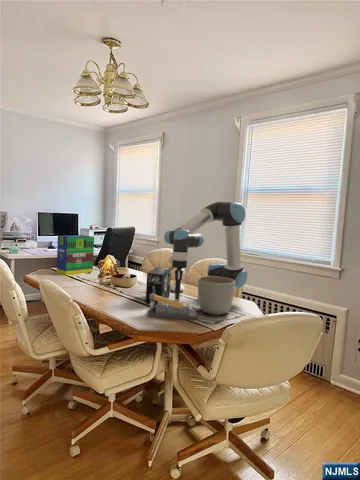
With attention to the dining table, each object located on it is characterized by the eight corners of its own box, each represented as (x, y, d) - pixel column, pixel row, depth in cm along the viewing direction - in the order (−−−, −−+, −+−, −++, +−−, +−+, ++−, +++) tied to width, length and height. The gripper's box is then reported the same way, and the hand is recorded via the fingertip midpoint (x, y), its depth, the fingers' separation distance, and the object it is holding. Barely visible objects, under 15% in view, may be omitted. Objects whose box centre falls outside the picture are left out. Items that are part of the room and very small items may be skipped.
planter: (205, 304, 210) (208, 274, 208) (237, 311, 199) (240, 279, 198) (189, 312, 192) (191, 279, 190) (223, 320, 181) (226, 285, 180)
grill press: (194, 312, 192) (195, 299, 192) (195, 320, 178) (196, 306, 178) (150, 309, 192) (150, 296, 191) (148, 317, 178) (148, 303, 177)
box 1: (83, 270, 295) (84, 235, 292) (92, 272, 286) (94, 237, 284) (56, 272, 276) (57, 235, 273) (65, 275, 267) (67, 237, 265)
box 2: (161, 305, 202) (163, 274, 200) (144, 303, 203) (146, 272, 202) (170, 296, 224) (171, 268, 223) (155, 294, 226) (157, 266, 224)
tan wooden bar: (148, 298, 184) (148, 294, 184) (152, 297, 187) (153, 293, 187) (178, 308, 169) (179, 303, 169) (183, 307, 172) (184, 302, 172)
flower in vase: (184, 289, 248) (186, 255, 246) (185, 293, 236) (187, 257, 234) (166, 288, 247) (168, 254, 245) (166, 291, 236) (168, 256, 234)
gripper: (172, 257, 180) (169, 301, 183) (172, 261, 167) (168, 308, 170) (186, 258, 180) (183, 301, 183) (187, 262, 168) (184, 309, 170)
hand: (176, 304), depth 176 cm, fingers closed
